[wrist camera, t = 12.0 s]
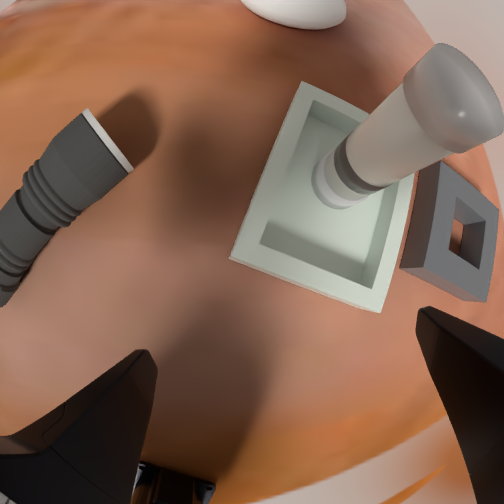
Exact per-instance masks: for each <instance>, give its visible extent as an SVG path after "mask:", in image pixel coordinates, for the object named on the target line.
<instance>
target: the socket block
mask: <svg viewBox="0 0 504 504" xmlns="http://www.w3.org/2000/svg"><path fill="white" fill-rule="evenodd" d="M498 217H499V209H498V208H497V207H496V206H495V205H493V204H492V203H491V202H490V201H489V200H488V199H487V198H486V197H485V196H484V195H483V194H481V193H480V192H479V191H478V190H477V189H476V188H475V187H473V186H472V185H471V184H470V183H469V182H468V181H466V180H465V179H464V178H463V177H461V176H460V175H459V174H458V173H456V172H455V171H454V170H453V169H451V168H450V167H449V166H448V165H446V164H445V163H444V162H442V161H439V162H437V163H435V164H433V165H431V166H429V167H427V168H425V169H423V170H421V171H420V172H419V178H418V185H417V191H416V197H415V202H414V208H413V213H412V218H411V223H410V227H409V232H408V236H407V241H406V245H405V249H404V253H403V257H402V261H401V264H400V269H402V270H404V271H406V272H408V273H410V274H412V275H414V276H416V277H418V278H420V279H422V280H424V281H426V282H428V283H430V284H432V285H434V286H436V287H438V288H440V289H442V290H444V291H446V292H448V293H450V294H452V295H454V296H455V297H457V298H459V299H461V300H463V301H473V302H486V301H487V296H488V291H489V286H490V281H491V276H492V270H493V263H494V257H495V249H496V240H497V230H498ZM453 218H455V219H456V220H458V221H459V222H460V223H462V224H463V225H464V229H463V236H462V242H461V248H460V254H459V256H457V255H456V254H454V253H453V252H451V251H450V250H448V249H449V243H450V237H451V231H452V225H453Z"/></svg>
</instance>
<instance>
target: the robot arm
mask: <svg viewBox="0 0 504 504" xmlns="http://www.w3.org/2000/svg"><path fill="white" fill-rule="evenodd" d="M416 336H417V339H418V342H419V344H420V347H421V350H422V353H423V356H424V359H425V361H426V364H427V367H428V370H429V373H430V375H431V377H432V380H433V382H434V384H435V386H436V388H437V391H438V393H439V395H440V398H441V400H442V402H443V405H444V407H445V409H446V412H447V414H448V416H449V419H450V422H451V424H452V427H453V429H454V432H455V434H456V437H457V440H458V443H459V446H460V448H461V451H462V454H463V457H464V460H465V463H466V466H467V469H468V472H469V474H470V475H469V476H470V479H471V482H472V486H473V490H474V493H475V497H476V501H477V504H504V339H502V338H500V337H498V336H496V335H494V334H491V333H489V332H487V331H485V330H483V329H481V328H478V327H476V326H474V325H472V324H470V323H467V322H465V321H463V320H461V319H458V318H456V317H454V316H452V315H449V314H447V313H445V312H443V311H440V310H438V309H436V308H434V307H431V306H427V307H424V308H420V309H419V310H418V314H417V322H416ZM156 379H157V366H156V364H155V362H154V360H153V359H152V357H151V355H150V353H149V351H148V350H146V349H138V350H135V351H134V352H132V353H131V354H129V355H128V356H127V357H125V358H124V359H123V360H121V361H120V362H119V363H117V364H116V365H115V366H113V367H112V368H110V369H109V370H108V371H106V372H105V373H104V374H102V375H101V376H99V377H98V378H97V379H95V380H94V381H93V382H91V383H90V384H88V385H87V386H86V387H84V388H83V389H82V390H80V391H79V392H77V393H76V394H75V395H73V396H72V397H71V398H69V399H68V400H66V402H64V403H62V404H61V405H59V406H58V407H57V408H55V409H54V410H52V411H51V412H49V413H48V414H46V415H45V416H43V417H41V418H40V419H38V420H37V421H35V422H33V423H32V424H30V425H28V426H27V427H25V428H23V429H22V430H20V431H18V432H16V433H14V434H12V435H8V436H0V504H208V503H209V501H210V499H211V497H212V496H213V494H214V492H215V490H216V485H215V484H214V483H212V482H209V481H205V480H201V479H197V478H193V477H190V476H186V475H183V474H179V473H176V472H173V471H170V470H167V469H163V468H161V467H158V466H155V465H152V464H149V463H146V462H144V461H140V456H141V452H142V448H143V443H144V439H145V435H146V431H147V427H148V423H149V419H150V415H151V411H152V406H153V399H154V392H155V386H156ZM141 466H143V467H144V468H142V467H141ZM208 487H211V488H208Z"/></svg>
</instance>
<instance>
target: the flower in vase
mask: <svg viewBox="0 0 504 504" xmlns="http://www.w3.org/2000/svg"><path fill="white" fill-rule="evenodd" d="M241 1H242V3H243V4H244V5H245V6H246V7H247V8H248V9H249V10H251V11H252V12H254V13H255V14H257V15H259V16H261V17H263V18H265V19H267V20H270V21H272V22H275V23H278V24H281V25H285V26H289V27H294V28H300V29H313V30H317V29H325V28H329V27H333V26H336V25H338V24H340V23H341V22H343V21H344V19H345V17H346V3H345V1H344V0H241Z"/></svg>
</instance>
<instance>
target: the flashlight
mask: <svg viewBox="0 0 504 504" xmlns="http://www.w3.org/2000/svg"><path fill="white" fill-rule="evenodd" d="M82 113H83V114H82ZM82 113H81V114H79V115H78V116H77V117H76V118H75V119H74V120H73V121H71V122H70V123H69V124H68V125H67V126H66V127H65V128H64V129H63V130H61V131H60V132H59V133H58V134H57V135H56V136H55V137H54V138H53V139H52V141H51V142H50V144H49V145H48V147H47V148H46V150H45V152H44V153H43V155H42V156H41V158H40V159H38V160H36V161H35V162H34V165H32V166H30V168H29V170H28V171H27V172H25V173H24V175H23V186H22V187H21V189H19V190H17V191H16V192H15V193H14V194H13V195H12V197H11V198H10V199H9V200H8V202H7V203H6V204H5V205H4V207H3V208H2V209H1V211H0V307H3V306H4V305H6V303H7V302H8V301H9V299H10V298H11V297H12V295H13V294H14V293H15V291H16V290H17V289H18V287H19V285H20V279H21V277H22V276H23V275H24V273H25V270H27V269H28V268H29V266H30V265H31V264H32V263H33V261H34V259H35V256H36V255H37V253H38V252H39V251H40V250H41V249H42V248H43V246H44V245H45V244H46V243H47V242H48V241H49V239H50V238H51V237H52V236H53V235H54V234H55V229H57V228H58V227H68V226H70V224H71V222H72V221H74V220H75V219H76V216H79V215H80V214H81V212H82V210H83V209H84V208H86V207H88V206H89V205H91V204H93V203H94V202H96V201H98V200H100V199H101V198H102V197H103V196H104V195H106V194H107V193H108V192H109V191H110V190H111V189H112V188H113V187H114V186H115V185H116V184H118V183H119V182H120V181H121V180H122V179H123V178H124V177H125V176H127V175H128V173H130V172H131V171H133V170H134V168H133V167H132V166H131V164H130V163H129V162H128V160H127V159H126V158H125V156H124V155H123V154H122V153H121V151H120V150H119V149H118V147H117V146H116V145H115V144H114V142H113V141H112V140H111V138H110V137H109V136H108V134H107V133H106V132H105V130H104V129H103V128H102V127H101V125H100V124H99V123H98V121H97V120H96V119H95V117H94V116H93V115H92V113H91V112H90V111H89V110H88V108H86V109H85V110H84V111H83V112H82Z"/></svg>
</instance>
